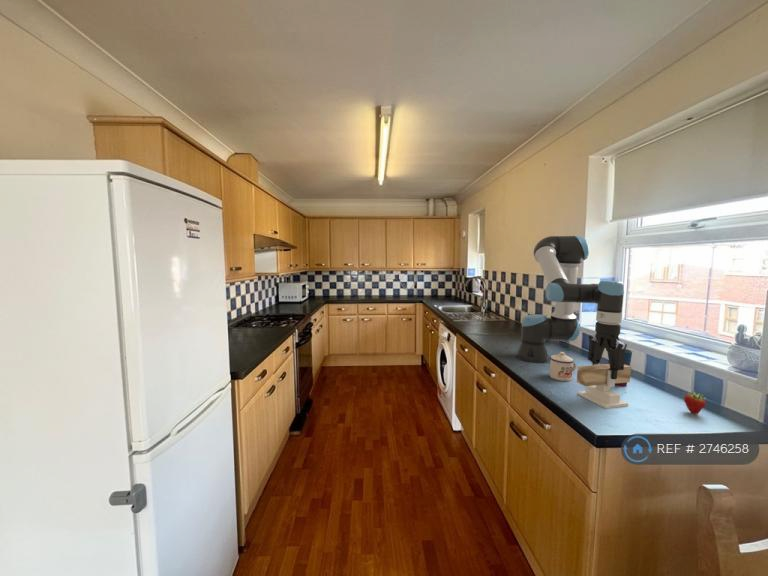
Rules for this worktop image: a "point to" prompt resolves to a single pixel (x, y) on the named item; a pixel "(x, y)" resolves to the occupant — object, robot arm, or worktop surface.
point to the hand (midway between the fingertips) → (603, 383)
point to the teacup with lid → (561, 367)
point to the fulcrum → (603, 396)
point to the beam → (600, 374)
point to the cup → (627, 362)
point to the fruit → (694, 402)
